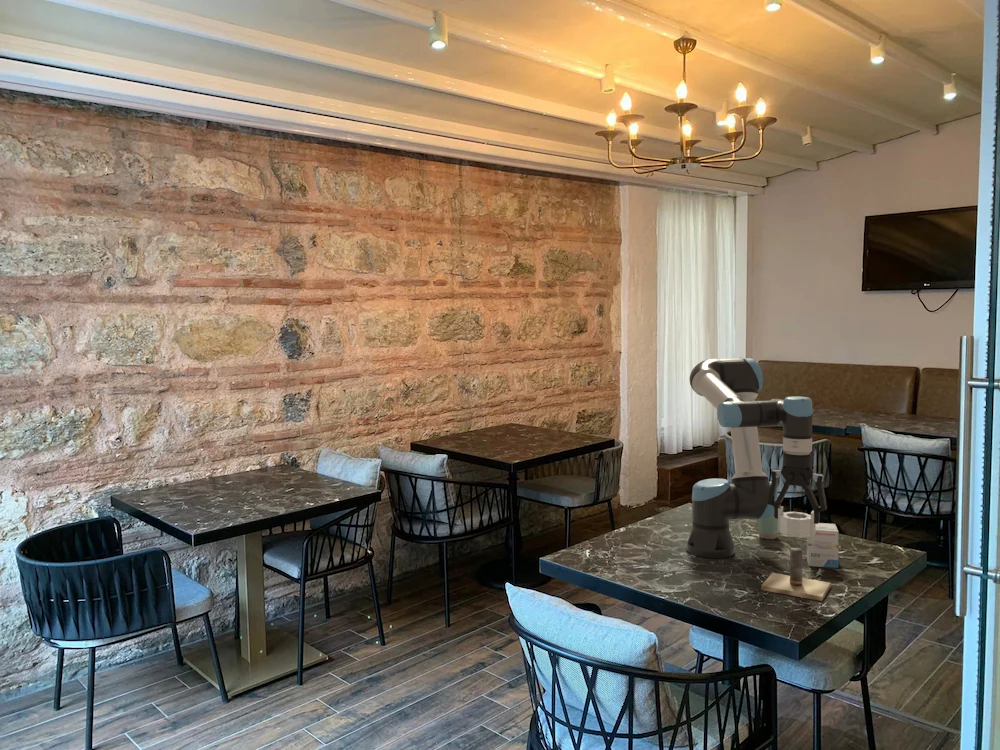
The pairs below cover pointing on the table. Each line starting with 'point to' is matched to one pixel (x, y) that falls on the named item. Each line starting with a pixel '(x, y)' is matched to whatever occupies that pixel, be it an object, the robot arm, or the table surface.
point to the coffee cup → (768, 527)
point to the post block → (796, 581)
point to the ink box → (823, 546)
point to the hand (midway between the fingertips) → (796, 532)
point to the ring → (795, 524)
